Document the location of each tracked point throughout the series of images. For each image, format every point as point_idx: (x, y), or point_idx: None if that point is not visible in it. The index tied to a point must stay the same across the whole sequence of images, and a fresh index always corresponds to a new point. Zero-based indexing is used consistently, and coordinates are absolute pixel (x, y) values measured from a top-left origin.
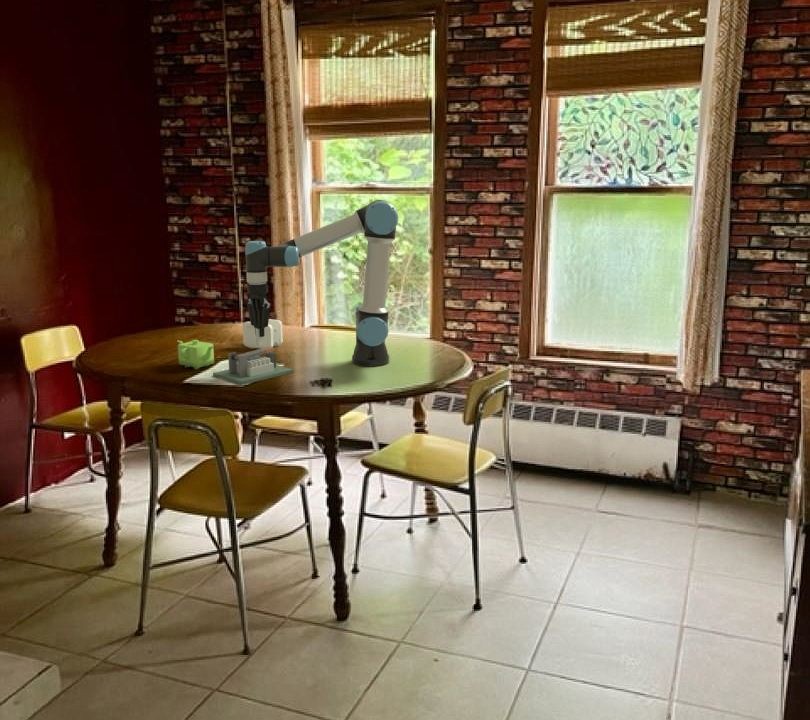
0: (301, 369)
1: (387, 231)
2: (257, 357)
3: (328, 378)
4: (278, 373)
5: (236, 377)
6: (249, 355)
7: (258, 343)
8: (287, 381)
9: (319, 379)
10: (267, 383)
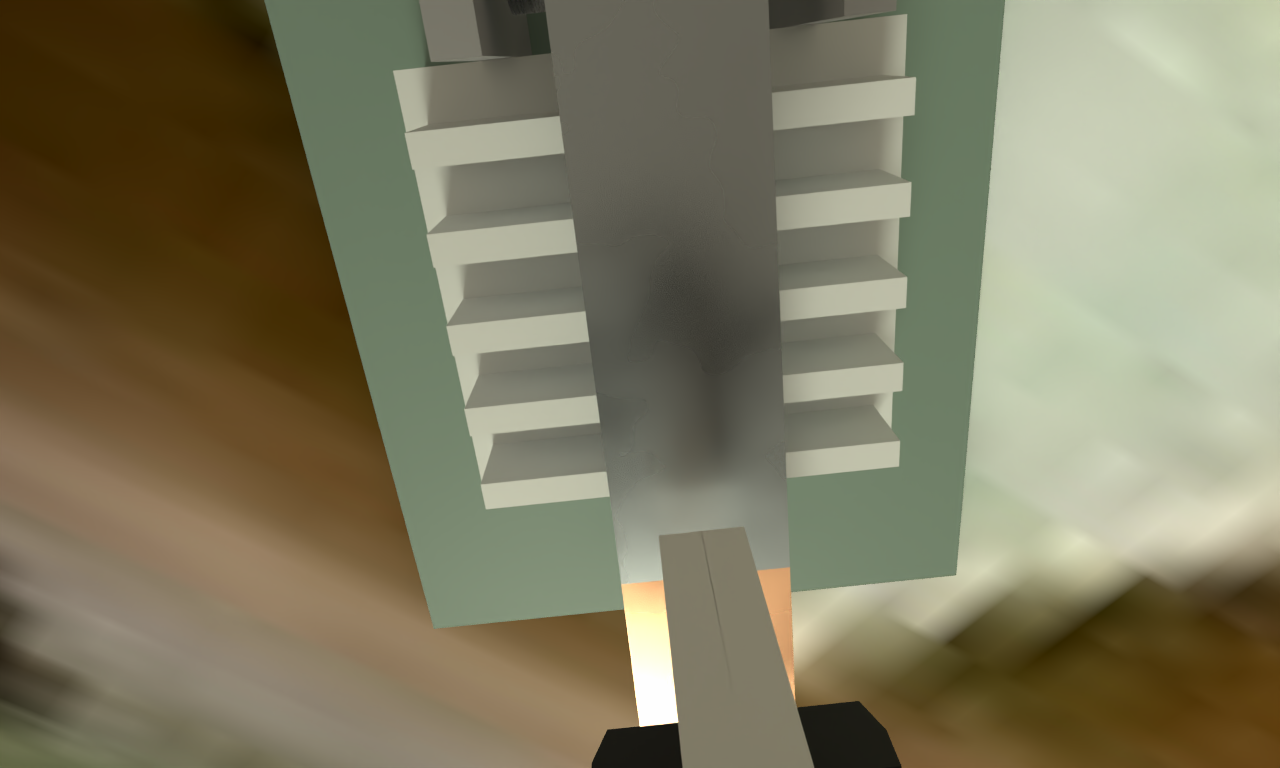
0: (502, 706)
1: None
2: None
3: (37, 719)
4: (386, 442)
5: None
6: (572, 211)
7: (668, 563)
8: (108, 382)
9: (37, 650)
10: (127, 144)
